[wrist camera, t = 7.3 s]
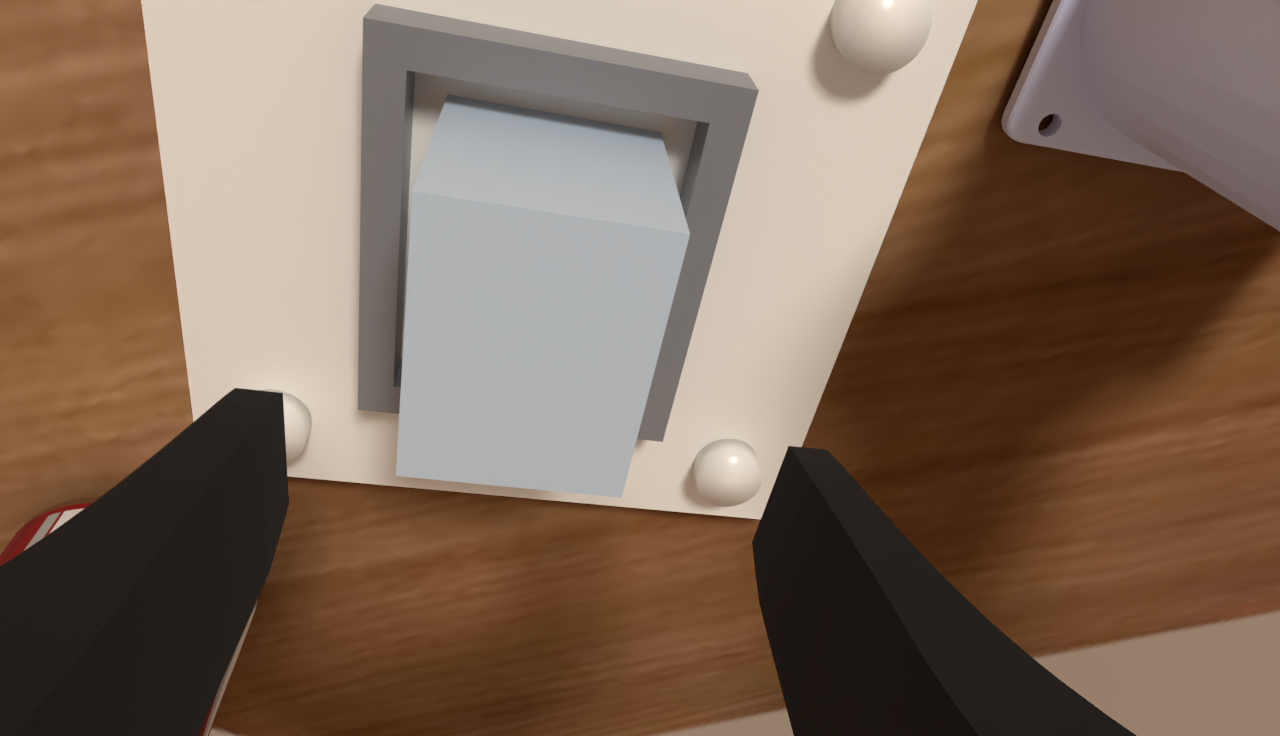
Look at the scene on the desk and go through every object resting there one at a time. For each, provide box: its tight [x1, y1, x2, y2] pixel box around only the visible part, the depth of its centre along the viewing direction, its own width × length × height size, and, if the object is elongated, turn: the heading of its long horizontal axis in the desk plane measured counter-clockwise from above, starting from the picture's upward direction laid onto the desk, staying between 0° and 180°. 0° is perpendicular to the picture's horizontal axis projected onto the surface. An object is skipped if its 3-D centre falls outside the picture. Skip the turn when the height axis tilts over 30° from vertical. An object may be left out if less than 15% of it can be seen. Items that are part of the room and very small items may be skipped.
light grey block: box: [396, 94, 690, 498], centre depth 17 cm, size 4×6×5 cm
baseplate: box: [141, 0, 978, 519], centre depth 19 cm, size 16×16×2 cm
